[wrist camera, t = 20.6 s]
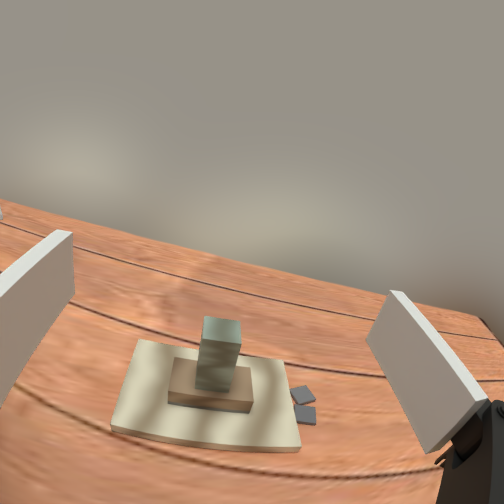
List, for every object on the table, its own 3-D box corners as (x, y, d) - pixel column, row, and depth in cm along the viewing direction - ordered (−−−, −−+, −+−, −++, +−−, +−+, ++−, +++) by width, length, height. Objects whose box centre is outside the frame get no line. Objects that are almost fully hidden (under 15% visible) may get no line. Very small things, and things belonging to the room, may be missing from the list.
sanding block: (167, 403, 31) (171, 339, 27) (173, 370, 37) (179, 306, 33) (249, 413, 33) (271, 353, 29) (246, 380, 38) (264, 319, 34)
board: (111, 430, 26) (110, 424, 26) (138, 346, 41) (138, 338, 41) (297, 452, 30) (301, 446, 29) (280, 366, 44) (282, 360, 44)
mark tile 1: (292, 424, 34) (294, 420, 34) (292, 408, 37) (294, 404, 37) (313, 427, 34) (316, 423, 34) (312, 411, 37) (315, 407, 37)
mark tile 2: (296, 408, 37) (299, 403, 37) (287, 393, 40) (289, 389, 39) (313, 403, 39) (316, 399, 38) (303, 389, 41) (305, 385, 41)
